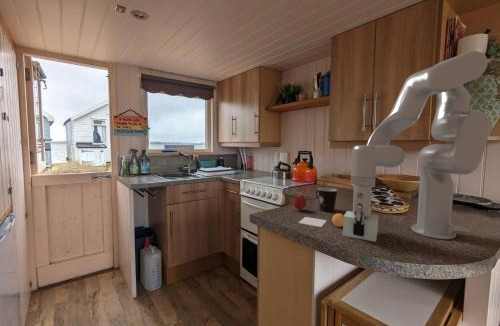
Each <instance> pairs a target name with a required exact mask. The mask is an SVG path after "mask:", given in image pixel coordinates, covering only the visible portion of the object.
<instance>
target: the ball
mask: <svg viewBox="0 0 500 326" xmlns="http://www.w3.org/2000/svg"><path fill="white" fill-rule="evenodd" d="M344 215H345V214H343V213H335V214H334V215H333V216H332V219H331V221H332V223H333V225H334V226H335V227H337V228H343V216H344Z"/></svg>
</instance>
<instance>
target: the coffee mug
mask: <svg viewBox="0 0 500 326" xmlns="http://www.w3.org/2000/svg"><path fill="white" fill-rule="evenodd" d="M337 195H338V189H337V188H331V187H318V189H317V190H316V191H315V196H316V198H317V199H318V204H319V211H320V212H324V213H333V212H335V207H336V201H337Z"/></svg>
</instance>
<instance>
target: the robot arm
mask: <svg viewBox="0 0 500 326" xmlns="http://www.w3.org/2000/svg"><path fill="white" fill-rule="evenodd" d="M488 62H489V61H488V58H487V56H486V55H485V53H483V52H481V51H478V50H469V51H467V52H464V53H461V54H458V55H456V56H454V57H451V58H447V59H446V60H445V59H444V60H442V61H440V62H438V63H436V64H434V65H432V66H431V67H428V68H425V69H423V70H420V71H417V72H415V73H412V74H411V75H409V76H408V77H407V78H406V79H405V81H404V83H403V85H402V87H401V89H400V91H399V94H398V96H397V98H396V100H395V102H394V104H393V106H392V108H391V111H390V113H389V114H388V115H387V116H386V117H385V118H384V119H383V120H382V121H381V122H380V124H379V125H378V126H377V127H376V128H375V129H374V131H373V132H372V134H371V135H370V137H369V139H368V141H367V143H366V144H364V145H363V144H362V145H361V144H360V145H359V144H357V145H354V146H353V147H352V150H351V169H350V171H351V172H350V186H352V187H353V195H352V196H353V199H352V200H353V202H352V212H353V214H354V215H355V219H354V227H353V234H354V235H358V236H364V216H367V217H369V216H370V214H371V212H372V194H373V193H372V188H375V187H376V171H377V170H376V169H377V167H383V168H387V169H388V168H389V169H390V168H391V169H392V168H397V167H399V166H401V164H403V163H404V161H405V158H406V154H405V151H404V150H403V149H402V148H401V147H400V146H398V145H394V144H390V142H391V141H392V139H394V138H395V137H396V136H398V134H400V133H402V132H403V131H406V130H407V129H408V128H410V127H411V126H413V125H415V124H416V123H417V122H418V120H419V118H420V116H421V114H422V113H423V109H424V108H425V106H426V103H427V101H428V99H429V97H430V96H434V95H437V98H438V100H437V101H438V102H437V107H436V111H435V114H434V118H433V121H432V123H431V124H432V125H431V129H430V134H431V136H432V138H433V139H435V140H437V141H442V142H454V143H453V144H452V143H451V144H449V143H444V144H443V143H435V144H430V145H427V146H426V145H425V147H423V148H421V150H420V151H419V153H418V156H417V162H418V169H419V188H418V202H417V214H416V215H417V216H416V217H417V220H416V223H414V224H412V225H411V231H413V232H414V233H416V234H418V235H419V236H420V235H421V236H424V237H427V238H433V239H437V240H453V239H455V238H457V237H456V236H457V235H456V234H457V233H460V234H466V235H469V233H470V230H469V229H470V228H468V227H463V226H461V225H454V224H453V222H452V212H453V211H452V210H453V202H454V201H453V200H454V188H455V186H454V185H455V184H454V180H453V177H452V175H461V176H465V175H470V174H473V173H474V172H476V170H477V169H478V168H479V166H480V165H481V162H482V159H483V156H484V153H485V150H486V146H487V142H488V139H489V136H490V132H491V121H490V118H489V117H488V115H487V114H486V113H485V112H482V111H481V110H473V109H472V110H470V109H469V108H470V103H471V95H470V93H469V91H468V90H467V88H466V87H465V86H464V84H467V83H469V82H472V81H474V80H476V79H478V78H480V77H481V76H482V75H483V74H484V73H485V71H486V69H487V68H488ZM361 214H363V215H361ZM361 217H362V218H361Z"/></svg>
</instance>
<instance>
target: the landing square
mask: <svg viewBox="0 0 500 326" xmlns="http://www.w3.org/2000/svg"><path fill="white" fill-rule="evenodd" d="M327 221H328V220H326V219H322V218H321V219H320V218H314V217H309V216H305V217H303V218H302V219H301V220H299V221H298V222H297V223H298V224H300V225H301V224H302V225H307V226H312V227H317V228H322V227H323V226H324V225H325V224H326V223H327Z"/></svg>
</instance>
